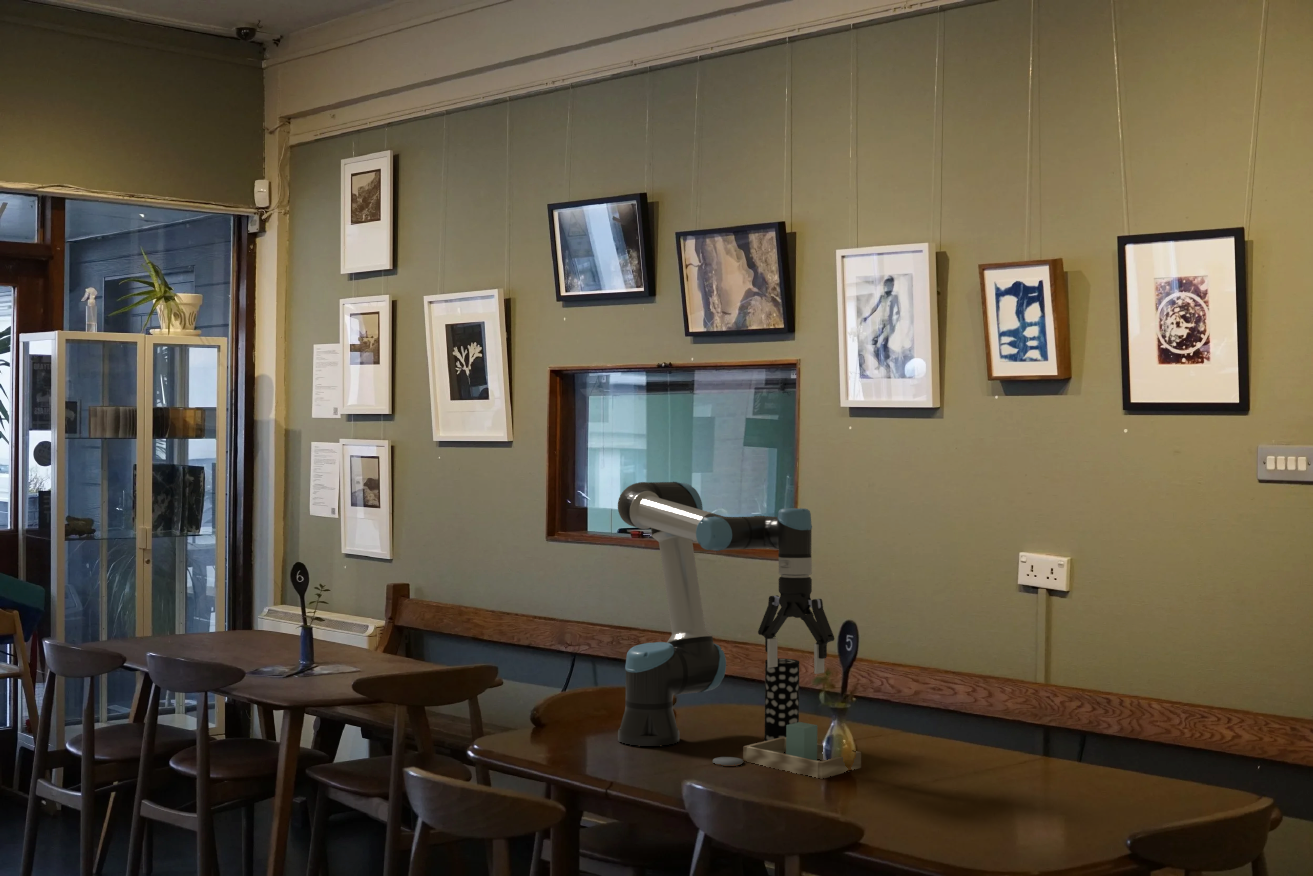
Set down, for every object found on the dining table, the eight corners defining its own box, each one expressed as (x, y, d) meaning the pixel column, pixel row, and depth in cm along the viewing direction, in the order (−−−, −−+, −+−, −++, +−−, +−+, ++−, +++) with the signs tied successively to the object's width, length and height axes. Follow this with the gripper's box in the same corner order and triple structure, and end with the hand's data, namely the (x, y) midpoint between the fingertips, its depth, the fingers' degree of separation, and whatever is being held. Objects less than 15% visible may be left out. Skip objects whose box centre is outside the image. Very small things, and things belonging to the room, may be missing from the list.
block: (786, 765, 283) (786, 725, 283) (799, 761, 287) (799, 722, 287) (803, 768, 280) (804, 728, 280) (817, 765, 283) (817, 725, 283)
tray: (743, 761, 285) (743, 746, 285) (783, 751, 296) (783, 736, 296) (821, 779, 270) (821, 763, 270) (860, 767, 281) (861, 752, 281)
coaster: (706, 763, 284) (706, 760, 284) (726, 758, 289) (726, 755, 289) (729, 768, 279) (730, 765, 279) (749, 763, 284) (749, 760, 284)
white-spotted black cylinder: (798, 740, 309) (799, 659, 310) (798, 747, 301) (799, 664, 301) (764, 738, 310) (765, 658, 310) (764, 746, 302) (765, 663, 302)
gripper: (742, 574, 290) (743, 666, 289) (828, 579, 272) (829, 677, 271) (763, 572, 295) (764, 663, 294) (849, 578, 278) (850, 674, 277)
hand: (795, 670), depth 283 cm, fingers open, 13 cm apart
